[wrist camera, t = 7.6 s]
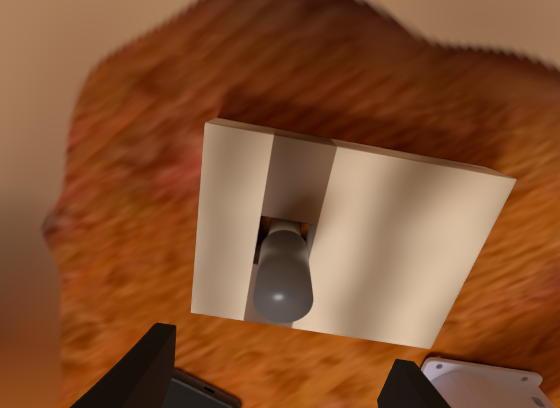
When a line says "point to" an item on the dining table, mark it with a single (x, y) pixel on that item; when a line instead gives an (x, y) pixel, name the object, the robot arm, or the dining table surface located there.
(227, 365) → the dining table surface
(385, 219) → the board
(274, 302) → the grey cylinder
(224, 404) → the phone
